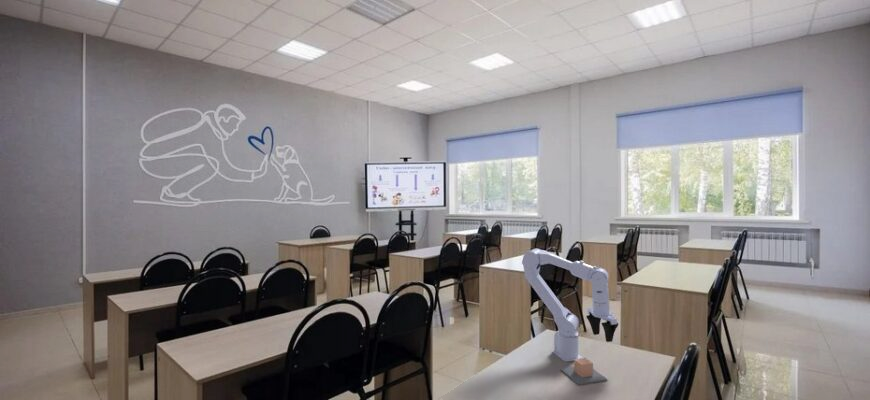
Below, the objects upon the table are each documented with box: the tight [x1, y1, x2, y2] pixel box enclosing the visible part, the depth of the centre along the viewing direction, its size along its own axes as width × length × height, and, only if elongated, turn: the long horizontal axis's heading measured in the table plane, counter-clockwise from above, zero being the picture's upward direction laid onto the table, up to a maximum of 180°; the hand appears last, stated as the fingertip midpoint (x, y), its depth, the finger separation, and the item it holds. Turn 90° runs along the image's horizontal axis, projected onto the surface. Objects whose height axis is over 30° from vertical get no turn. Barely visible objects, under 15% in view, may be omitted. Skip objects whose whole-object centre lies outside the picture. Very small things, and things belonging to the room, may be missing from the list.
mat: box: [560, 366, 608, 386], centre depth 140 cm, size 11×11×1 cm
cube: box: [573, 357, 594, 377], centre depth 140 cm, size 4×4×4 cm
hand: (602, 337), depth 149 cm, fingers open, 7 cm apart
